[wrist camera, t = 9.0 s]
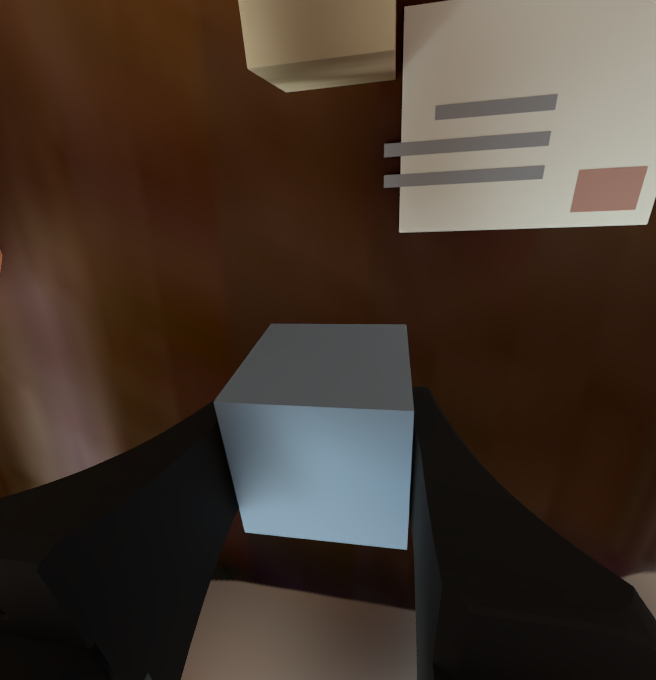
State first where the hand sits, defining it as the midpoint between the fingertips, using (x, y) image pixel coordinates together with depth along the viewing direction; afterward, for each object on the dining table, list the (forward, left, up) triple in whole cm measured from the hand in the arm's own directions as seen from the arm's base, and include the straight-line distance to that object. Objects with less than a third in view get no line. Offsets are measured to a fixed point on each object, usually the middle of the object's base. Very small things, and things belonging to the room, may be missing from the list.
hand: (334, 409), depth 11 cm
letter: (-7, -8, -8) cm, 14 cm away
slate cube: (0, 0, -2) cm, 2 cm away
